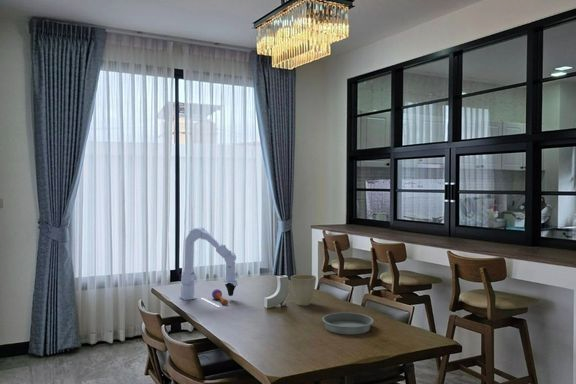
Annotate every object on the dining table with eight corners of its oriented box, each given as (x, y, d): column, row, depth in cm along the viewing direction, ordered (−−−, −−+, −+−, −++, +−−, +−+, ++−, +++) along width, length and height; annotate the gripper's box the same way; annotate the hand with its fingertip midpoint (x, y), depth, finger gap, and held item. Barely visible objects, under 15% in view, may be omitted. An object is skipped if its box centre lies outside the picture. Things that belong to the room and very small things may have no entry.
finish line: (200, 298, 296) (200, 298, 296) (203, 298, 297) (203, 297, 297) (217, 307, 274) (217, 307, 274) (221, 306, 275) (221, 306, 275)
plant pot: (310, 300, 291) (310, 273, 291) (320, 306, 277) (320, 278, 277) (287, 302, 286) (287, 275, 286) (295, 308, 272) (295, 279, 272)
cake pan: (333, 338, 220) (333, 328, 220) (315, 323, 244) (315, 314, 244) (382, 333, 227) (382, 323, 226) (360, 319, 250) (360, 310, 250)
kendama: (219, 299, 278) (210, 289, 296) (221, 308, 279) (211, 298, 297) (229, 296, 281) (219, 287, 299) (230, 305, 282) (221, 296, 300)
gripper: (242, 274, 289) (242, 297, 289) (231, 270, 301) (231, 292, 301) (231, 275, 285) (231, 298, 285) (220, 271, 297) (221, 294, 297)
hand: (230, 295), depth 293 cm, fingers closed
